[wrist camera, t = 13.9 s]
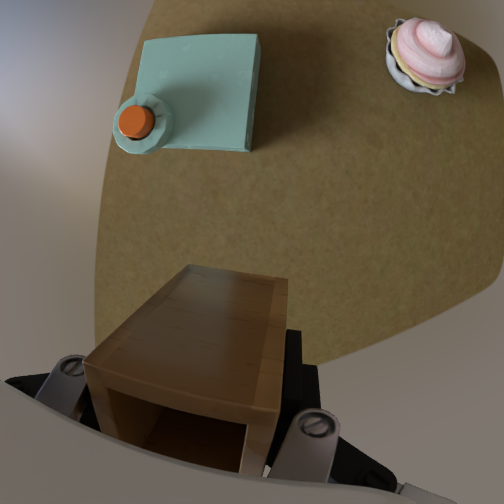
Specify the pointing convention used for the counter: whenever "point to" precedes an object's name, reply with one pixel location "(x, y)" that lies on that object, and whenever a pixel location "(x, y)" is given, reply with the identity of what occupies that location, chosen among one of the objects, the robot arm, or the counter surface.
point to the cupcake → (424, 56)
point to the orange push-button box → (196, 93)
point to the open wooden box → (197, 370)
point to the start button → (135, 121)
